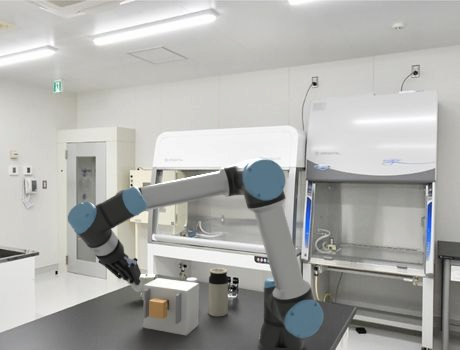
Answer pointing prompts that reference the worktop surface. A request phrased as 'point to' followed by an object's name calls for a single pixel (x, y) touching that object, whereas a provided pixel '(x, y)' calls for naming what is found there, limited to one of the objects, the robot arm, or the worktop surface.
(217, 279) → the travel mug
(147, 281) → the pneumatic valve
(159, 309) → the button
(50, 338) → the worktop surface
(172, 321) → the box
